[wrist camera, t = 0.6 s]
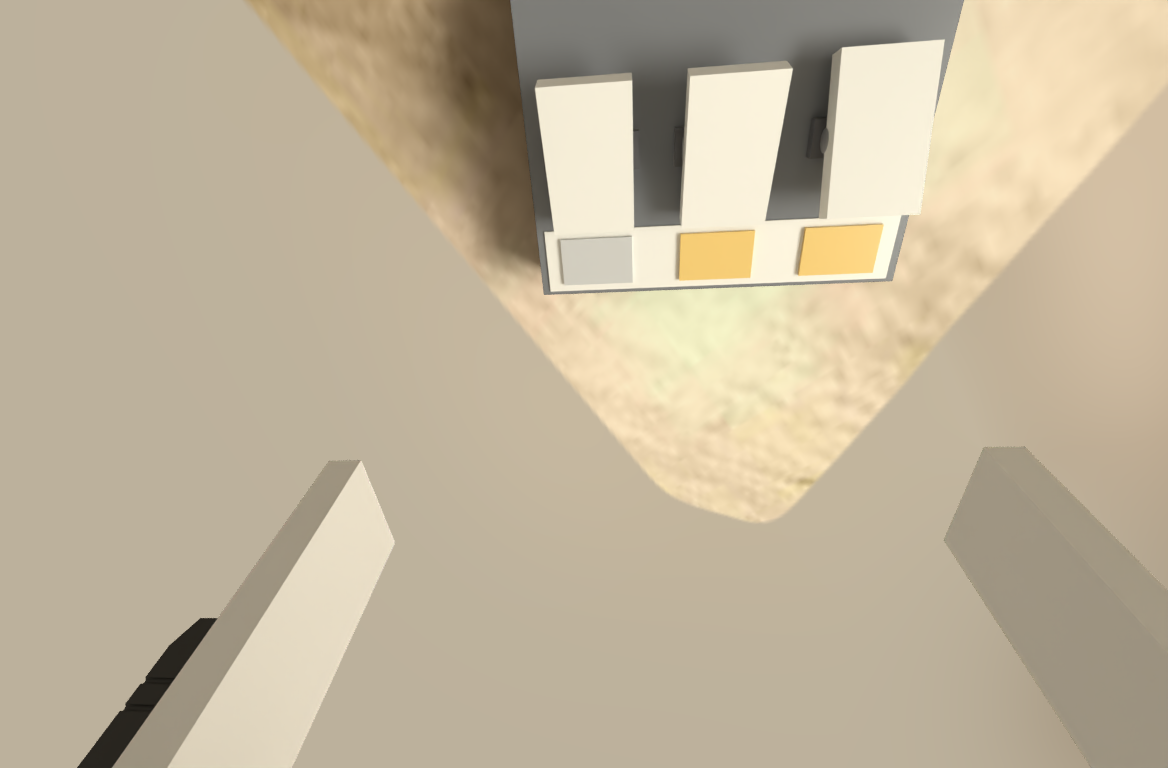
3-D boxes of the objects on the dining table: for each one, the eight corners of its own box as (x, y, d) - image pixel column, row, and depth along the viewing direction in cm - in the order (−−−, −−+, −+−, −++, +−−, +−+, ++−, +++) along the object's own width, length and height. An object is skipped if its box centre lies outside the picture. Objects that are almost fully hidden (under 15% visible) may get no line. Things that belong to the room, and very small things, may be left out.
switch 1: (539, 75, 22) (534, 87, 20) (631, 68, 21) (632, 80, 20) (557, 217, 26) (554, 234, 25) (633, 214, 26) (634, 230, 25)
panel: (522, -21, 24) (503, -36, 20) (930, -59, 23) (994, -83, 19) (552, 269, 32) (542, 299, 28) (861, 255, 30) (897, 285, 26)
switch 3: (827, 58, 22) (841, 47, 20) (922, 51, 22) (944, 39, 20) (814, 218, 24) (827, 219, 22) (901, 214, 24) (920, 214, 22)
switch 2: (686, 63, 21) (690, 76, 20) (783, 56, 21) (792, 68, 20) (678, 211, 26) (681, 228, 24) (757, 207, 25) (764, 224, 24)
